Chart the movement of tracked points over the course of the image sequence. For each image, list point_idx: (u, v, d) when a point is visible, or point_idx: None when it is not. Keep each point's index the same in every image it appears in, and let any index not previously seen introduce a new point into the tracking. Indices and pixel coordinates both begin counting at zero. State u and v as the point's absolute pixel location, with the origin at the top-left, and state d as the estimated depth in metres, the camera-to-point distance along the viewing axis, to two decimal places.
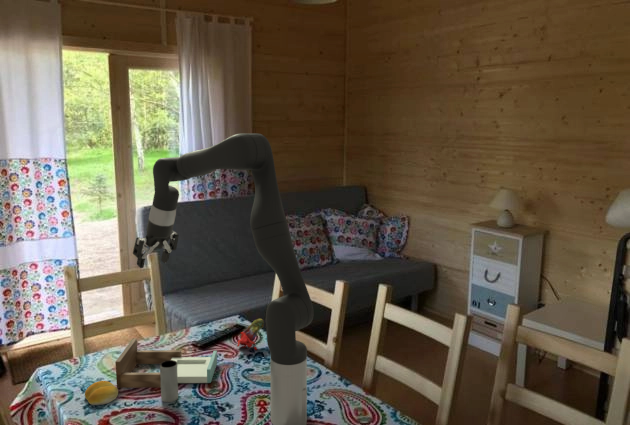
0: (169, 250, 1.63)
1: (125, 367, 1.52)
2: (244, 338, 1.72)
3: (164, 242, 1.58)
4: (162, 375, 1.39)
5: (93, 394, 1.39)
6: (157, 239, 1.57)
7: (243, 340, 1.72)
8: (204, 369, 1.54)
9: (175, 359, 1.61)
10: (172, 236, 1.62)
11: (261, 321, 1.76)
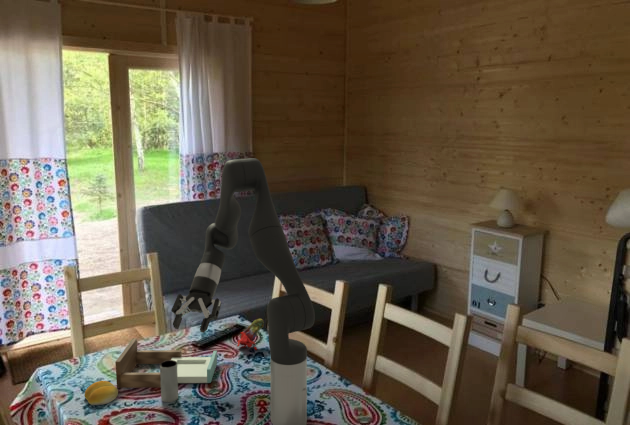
0: (206, 314, 1.51)
1: (125, 367, 1.52)
2: (244, 338, 1.72)
3: (199, 300, 1.54)
4: (162, 375, 1.39)
5: (93, 394, 1.39)
6: (195, 297, 1.56)
7: (243, 340, 1.72)
8: (204, 369, 1.54)
9: (175, 359, 1.61)
10: (213, 301, 1.54)
11: (261, 321, 1.76)
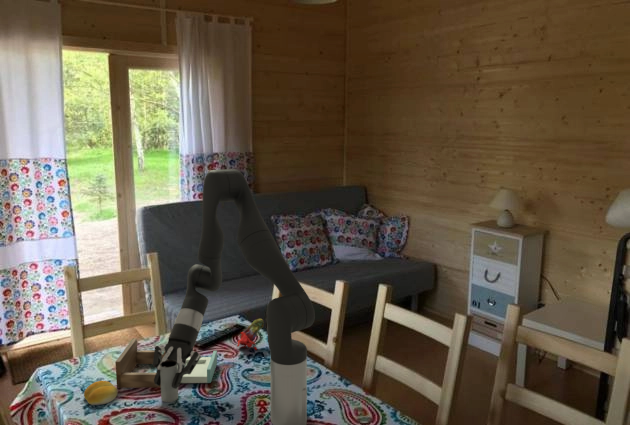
0: (179, 368, 1.41)
1: (125, 367, 1.52)
2: (244, 338, 1.72)
3: (178, 350, 1.43)
4: (162, 375, 1.39)
5: (92, 394, 1.39)
6: (174, 346, 1.45)
7: (243, 340, 1.72)
8: (204, 369, 1.54)
9: None
10: (192, 354, 1.44)
11: (261, 321, 1.76)
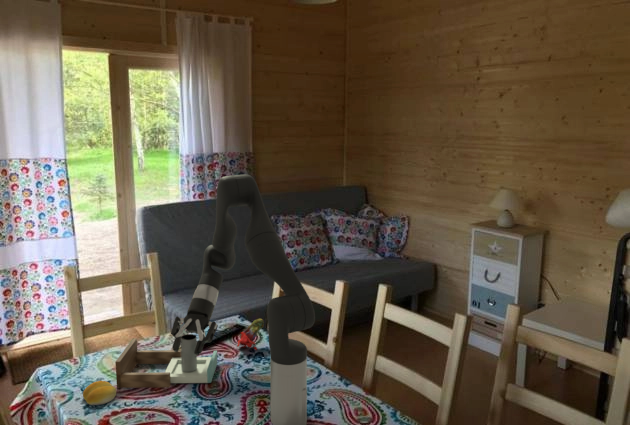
0: (200, 337, 1.54)
1: (125, 367, 1.52)
2: (244, 338, 1.72)
3: (197, 321, 1.57)
4: (183, 347, 1.53)
5: (91, 394, 1.39)
6: (192, 318, 1.59)
7: (243, 340, 1.72)
8: (204, 369, 1.54)
9: (175, 359, 1.61)
10: (210, 324, 1.57)
11: (261, 321, 1.76)
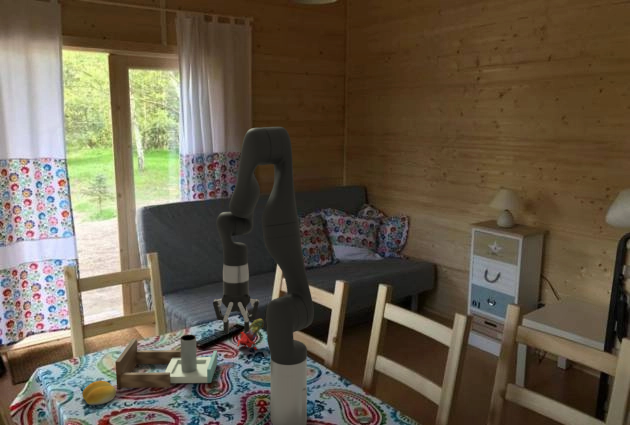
0: (246, 318, 1.53)
1: (125, 367, 1.52)
2: (244, 338, 1.72)
3: (239, 304, 1.51)
4: (182, 348, 1.53)
5: (91, 394, 1.39)
6: (232, 300, 1.52)
7: (243, 340, 1.72)
8: (204, 369, 1.54)
9: (175, 359, 1.61)
10: (252, 302, 1.53)
11: (261, 321, 1.76)
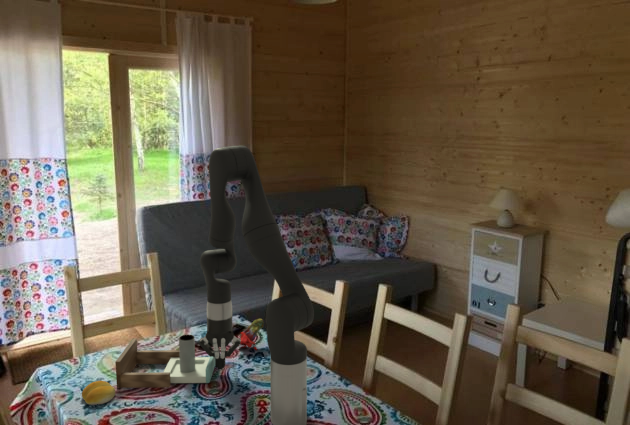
0: (222, 355, 1.55)
1: (125, 367, 1.52)
2: (244, 338, 1.72)
3: (222, 340, 1.53)
4: (181, 348, 1.53)
5: (90, 394, 1.39)
6: (216, 336, 1.54)
7: (243, 340, 1.72)
8: (203, 369, 1.54)
9: (174, 359, 1.61)
10: (234, 340, 1.55)
11: (261, 321, 1.76)
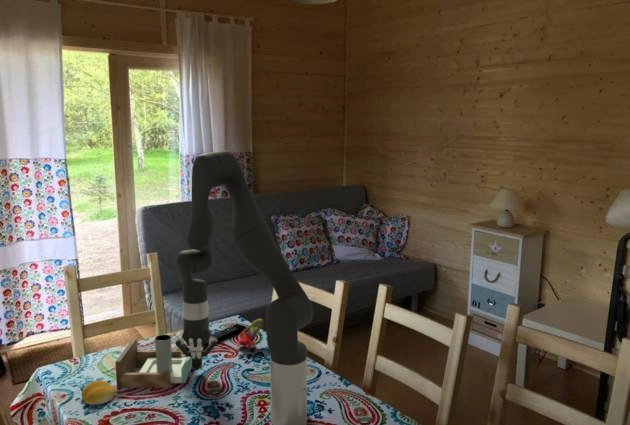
0: (199, 355, 1.54)
1: (125, 367, 1.52)
2: (244, 338, 1.72)
3: (199, 340, 1.53)
4: (157, 348, 1.53)
5: (90, 394, 1.39)
6: (192, 336, 1.53)
7: (243, 340, 1.72)
8: (179, 369, 1.54)
9: (151, 359, 1.61)
10: (211, 340, 1.55)
11: (261, 321, 1.76)
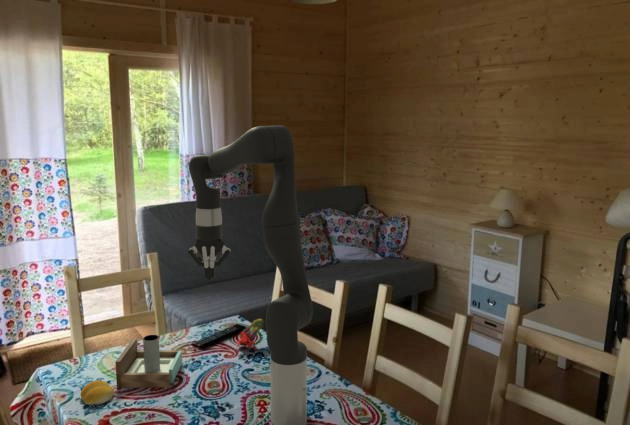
0: (212, 264, 1.53)
1: (125, 367, 1.52)
2: (244, 338, 1.72)
3: (212, 248, 1.51)
4: (145, 348, 1.53)
5: (89, 394, 1.39)
6: (205, 244, 1.52)
7: (243, 340, 1.72)
8: (167, 369, 1.54)
9: (140, 359, 1.60)
10: (224, 249, 1.53)
11: (261, 321, 1.76)
